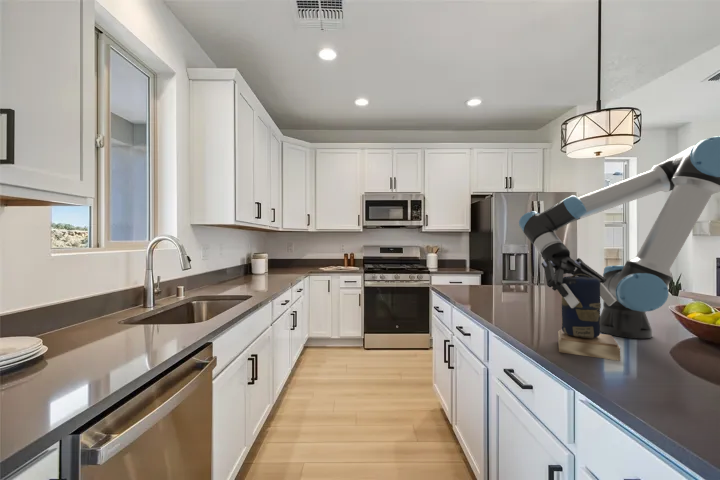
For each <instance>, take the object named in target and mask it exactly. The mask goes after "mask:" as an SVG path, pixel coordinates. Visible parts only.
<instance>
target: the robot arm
mask: <svg viewBox="0 0 720 480" xmlns="http://www.w3.org/2000/svg"><path fill="white" fill-rule="evenodd" d="M658 192H663V193H667V192H670V194H669V196H668V198H667V199H666V201H665V203H664V205H663V207H662V209H661V211H660V212H659V214H658V216H657V218H656V220H655V222H654V223H653V224H652V226H651V229H650V231H649V232H648V233H647V236H646V237H645V240H644V242H643V243H642V245H641V246H640V249H639V251H638V253H636V256H635V257H634V258H631V259H627V260H626V262H625V264H624V265H619V264H617V265H607V266H605V267H604V268H603V274H602V275H601V274H600V273H598V272H597V271H596V270H595V269H593V268H592V267H590V266H589V265H588V264H586V263H585V262H584V261H583V260H582V259H581V258H579V257H578V258H577V259H576V260H574V259H573V258H572V257H571V256H570V255H571V251H570V250H569V249H568V248H567V246H566V245H565V244H564V243H563V241H562V240H561V239H560V237H558V235H557V233H555V232H556V231H558V230H560V229H561V228H563V227H565V226H567V225H569V224H571V223H574V222H576V221H579V220H581V219H584V218H587V217H590V216H593V215H595V214H598V213H601V212H604V211H607V210H609V209H612V208H615V207H618V206H621V205H624V204H627V203H630V202H632V201H636V200H638V199H641V198H644V197H647V196H649V195H652V194H656V193H658ZM719 192H720V135H717V136H711V137H708V138H704V139H701V140H699V141H698V142H696V143H695V144H694V145H691V146H689V147H688V148H686V149H684V150H682V151H680V152H678V153H677V154H675V155H673V156H672V157H670V158H668V159H667V160H665V161H662V162H659V163H658V164H654V165H653V166H652V167H651V169H650V170H647V171H646V172H643V173H639V174H637V175H635V176H631V177H629V178H626V179H624V180H620V181H619V182H618V181H617V182H616V183H613V184H610V185H608V186H606V187H603V188H600V189H597V190H594V191H593V192H589V193H587V194H584V195H581V196H579V197H578V196H576V195H574V194H573V195H570V196H568V197H566V198H564V199H562V200H561V201H559V202H558V203H556V204H554V205H552V206H551V207H549V208H548V209H546V210H545V211H542V212H540V213H539V212H537V211H535V210H531V211H530V212H529V211H528V212H526V213H524V214H523V215H522V216H521V217H520V219H519V220H518V225H519V228H520V229H521V230H522V232H523V233H524V235H525V236H526V237H527V239H528V240H529V242H530V243H531V244H532V245H533V247H534V248H535V249H536V251H537V252H538V253H539V255H540V256H541V258H542V260H544V261H542V263H541V266H542V268H543V269H544V274H545V279H546V285H547V288H551V289H552V291H554V292H555V291H557V292H559V294H560V296H561V298H562V297H564V299H565V300H566V301H567V303H568V304H569V306H570V307H571V308H574V307H575V306H576V305H577V304H578V303H580V302H579V301H578V300H577V298H576V297H575V296H574V294H573V293H572V292H571V290H570V289H569V288H568V286H567V285H566V284H563V285H562V282H563V278H564V275H565V274H568V275H571V276H573V275H576V274H585V275H588V276H590V277H592V278H597V279H598V280H599V281H600V299H602V300H603V301H602V302H603V303H602V304H603V305H602V306H603V307H602V310H601V312H600V333H602V334H606V335H612V336H614V337H620V338H621V337H622V338H629V339H640V340H641V339H650V338H652V337H653V330H652V326H651V323H650V321H649V318H648V315H647V313H648V312H653V311H656V310H658V309H659V308H661V307H663V306H664V305H665V303H666V302H667V300H668V298H669V288H668V286H669V284H670V283H671V281H672V279H673V274H672V272H671V268H672V266H673V264H674V263H675V260H676V259H677V258H678V255H679V254H680V251H681V250H682V248H683V247H684V245H685V243H686V242H687V240H688V238H689V236H690V235H691V233H692V230H693V229H694V227H695V225H696V223H698V220H699V218H700V217H701V215H702V213H703V212H704V209H705V208H706V207H707V204H708V202H709V201H710V200H711V197H712V195H714V194H716V193H719ZM577 276H579V277H586V276H583V275H577ZM646 312H647V313H646Z"/></svg>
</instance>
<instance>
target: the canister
mask: <svg viewBox="0 0 720 480" xmlns="http://www.w3.org/2000/svg"><path fill="white" fill-rule="evenodd" d="M577 275H583V276H586V277H579V276H577ZM563 284H566V285H567V286H568V288H569V289H570V290H571V292H572V293H573V294H574V296H575V297H576V298H577V300H578V301H579V302H580V303H578V304H577V305H576V306H575V307H574V308H571V307H570V306H569V304H568V303H567V301H566V300H565V299H564V297H562V296H561V329H562V331H563V332H564V333H566V334H568V335H572V336H576V337H582V338H595V337H598V336H599V335H600V334H601V332H600V315H601V307H602V304H601V296H600V281H599V280H598V279H597V278H592V277H590V276H588V275H585V274H576V275H569V276H563V282H562V285H563Z"/></svg>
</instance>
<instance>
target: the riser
mask: <svg viewBox="0 0 720 480" xmlns="http://www.w3.org/2000/svg"><path fill="white" fill-rule="evenodd" d="M557 333H558V334H557V340H558V341H557V342H558V352H559V353H564V354H570V355H577V356H578V355H579V356H584V357H592V358H597V359H606V360H611V361H612V360H613V361H618V362H619V361H621V347H620V346H619V344H618V342H617V341H616V339H615V337H613V335H610V334H606V333H600V335H599V336H598V337H595V338H582V337H576V336H572V335H568V334H566V333H564V332H563V331H562V328H561V329H560V330H558V332H557Z"/></svg>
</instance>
